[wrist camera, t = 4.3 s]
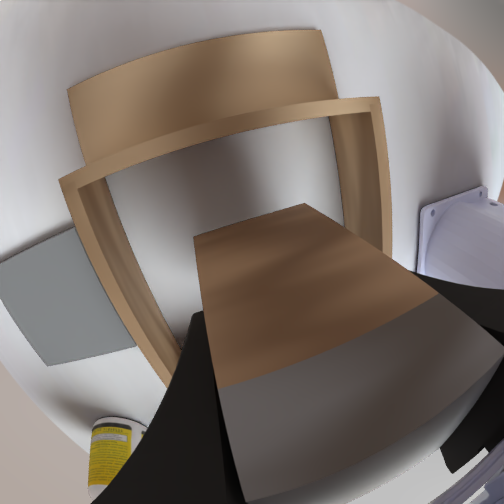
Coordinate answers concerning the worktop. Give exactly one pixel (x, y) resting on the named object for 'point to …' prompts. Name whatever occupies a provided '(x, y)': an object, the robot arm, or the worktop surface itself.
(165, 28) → the worktop surface
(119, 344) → the pad
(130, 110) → the wooden tray
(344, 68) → the worktop surface
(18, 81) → the worktop surface
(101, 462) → the supplement bottle
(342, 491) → the block
